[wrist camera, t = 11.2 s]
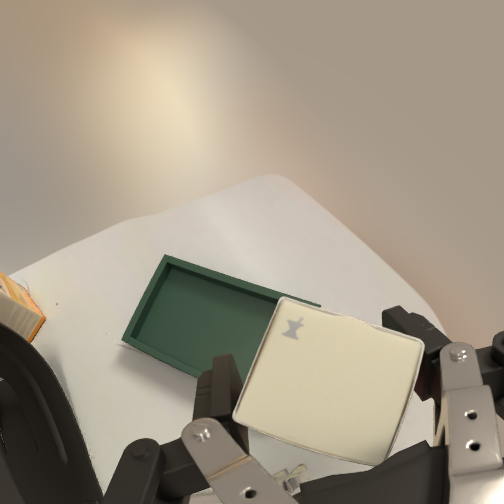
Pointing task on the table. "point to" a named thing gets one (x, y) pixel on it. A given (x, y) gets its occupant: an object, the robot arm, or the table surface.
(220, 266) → the table surface
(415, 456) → the robot arm
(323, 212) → the table surface
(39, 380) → the laptop stand
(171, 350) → the tray
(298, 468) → the caliper
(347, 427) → the small box
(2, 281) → the supplement box
